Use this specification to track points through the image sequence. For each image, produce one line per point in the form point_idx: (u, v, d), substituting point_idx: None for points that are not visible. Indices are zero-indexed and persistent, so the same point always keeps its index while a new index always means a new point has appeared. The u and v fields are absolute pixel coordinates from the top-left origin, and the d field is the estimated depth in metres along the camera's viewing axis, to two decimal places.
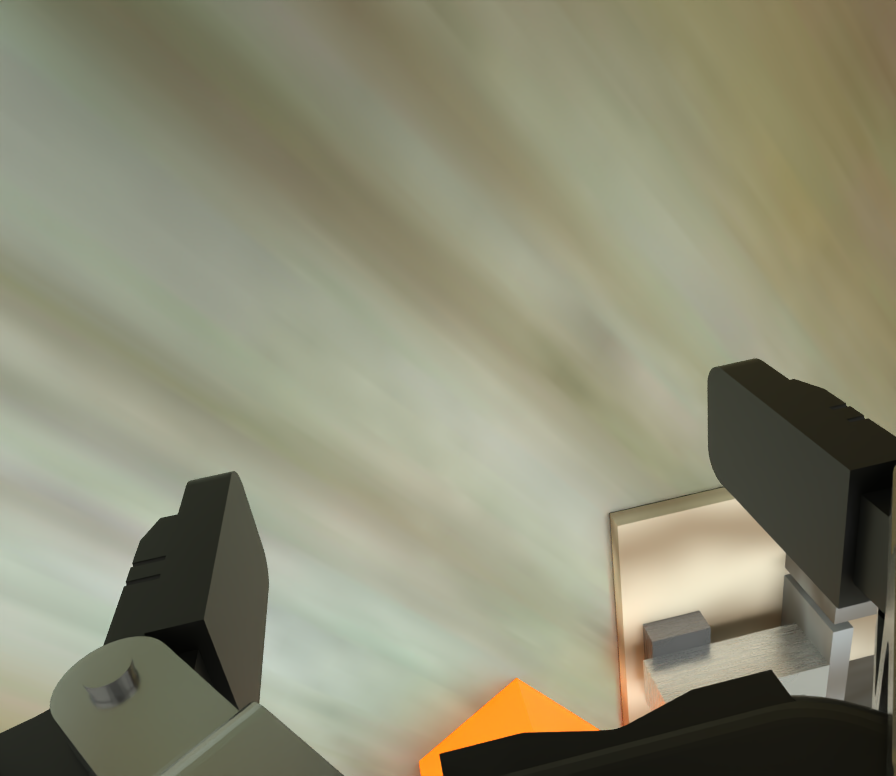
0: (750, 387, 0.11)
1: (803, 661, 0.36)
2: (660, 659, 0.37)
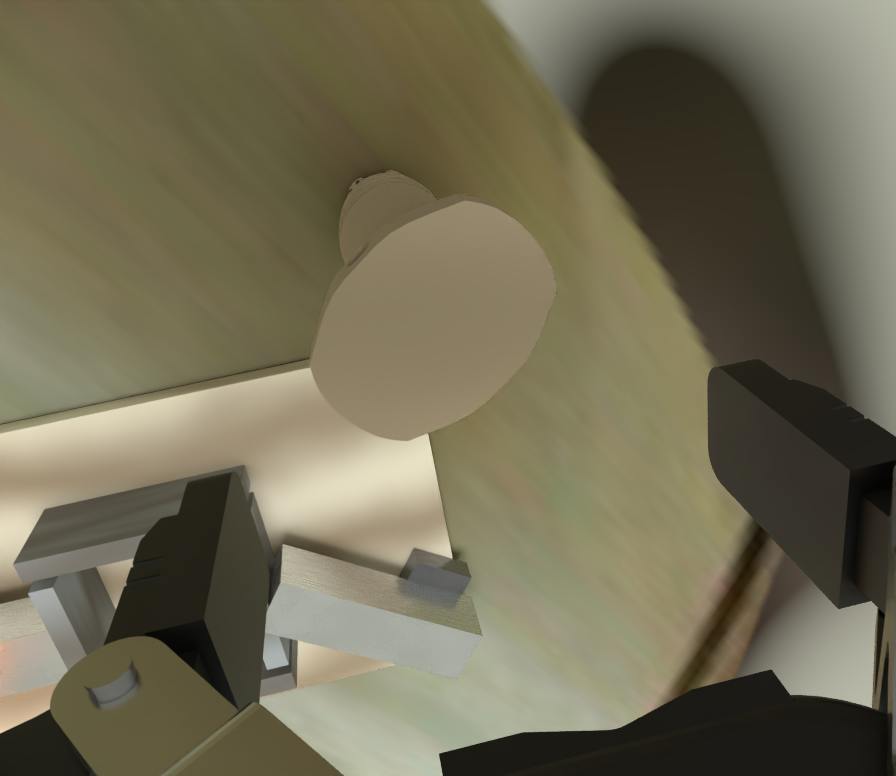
0: (750, 387, 0.11)
1: (28, 628, 0.32)
2: None
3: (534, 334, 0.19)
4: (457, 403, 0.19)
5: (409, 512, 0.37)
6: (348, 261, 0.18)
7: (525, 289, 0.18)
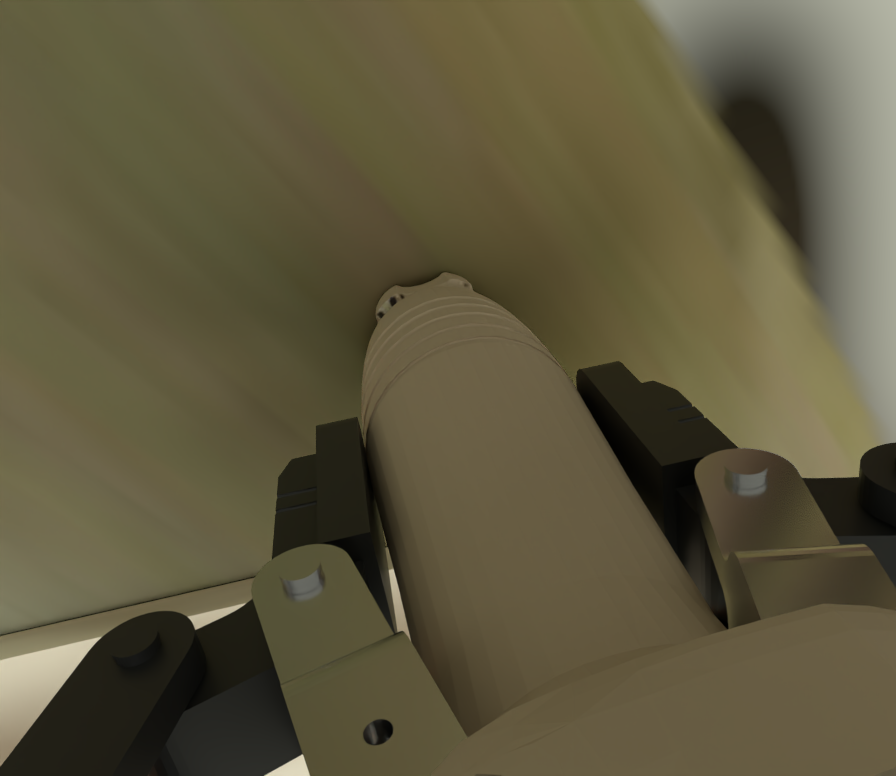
0: (602, 388, 0.12)
1: None
2: None
3: None
4: None
5: None
6: None
7: None
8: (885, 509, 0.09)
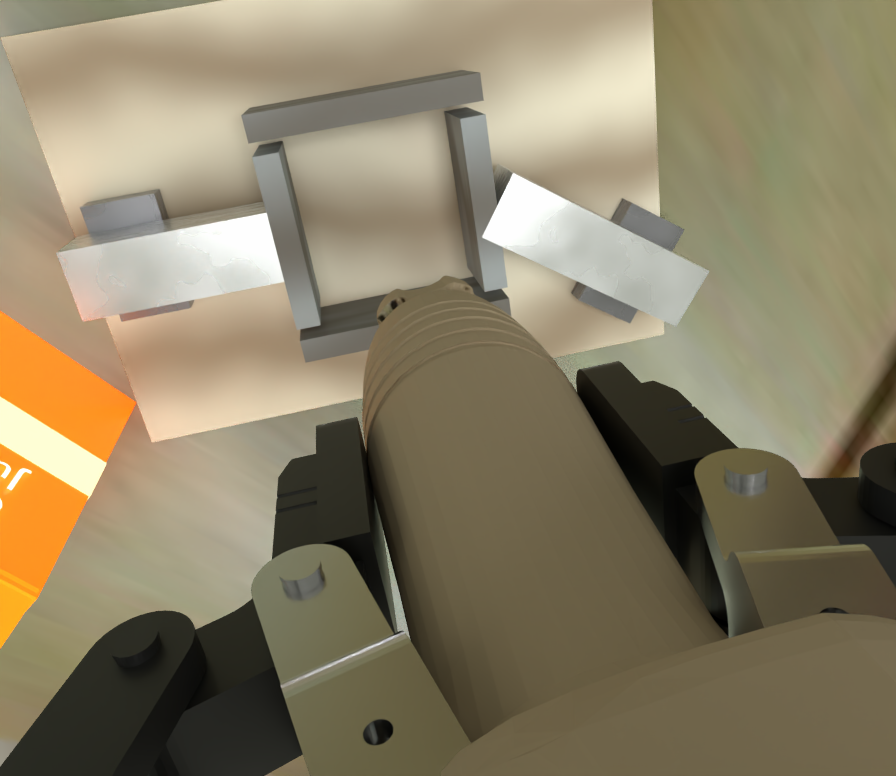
0: (602, 388, 0.12)
1: (242, 214, 0.30)
2: (95, 233, 0.31)
3: None
4: None
5: (622, 151, 0.34)
6: None
7: None
8: (885, 509, 0.09)
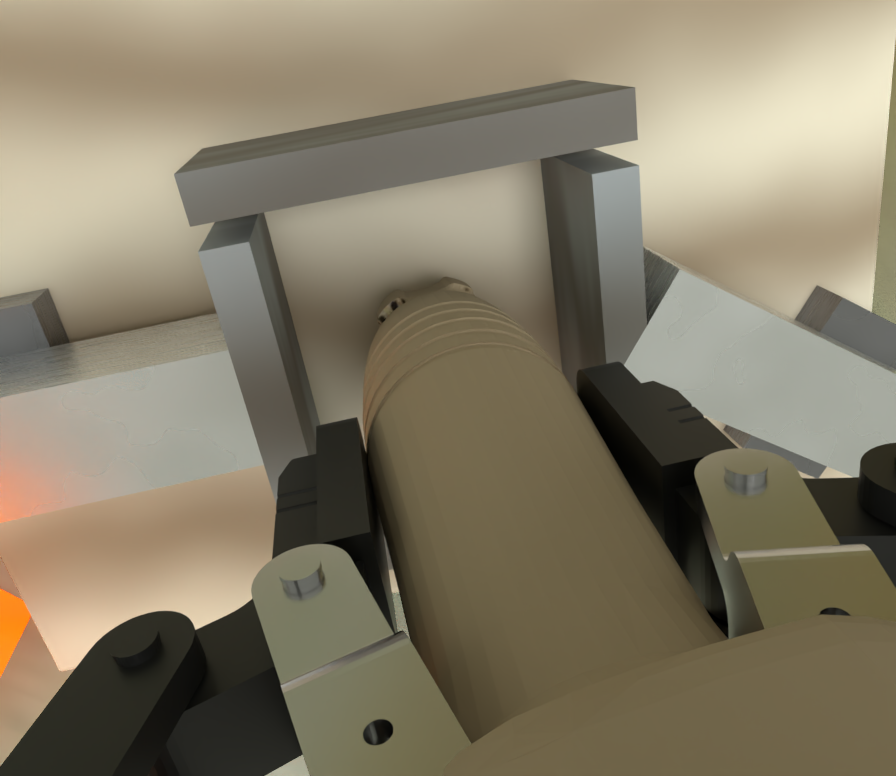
0: (602, 389, 0.12)
1: (185, 350, 0.16)
2: None
3: None
4: None
5: (825, 211, 0.21)
6: None
7: None
8: (885, 509, 0.09)
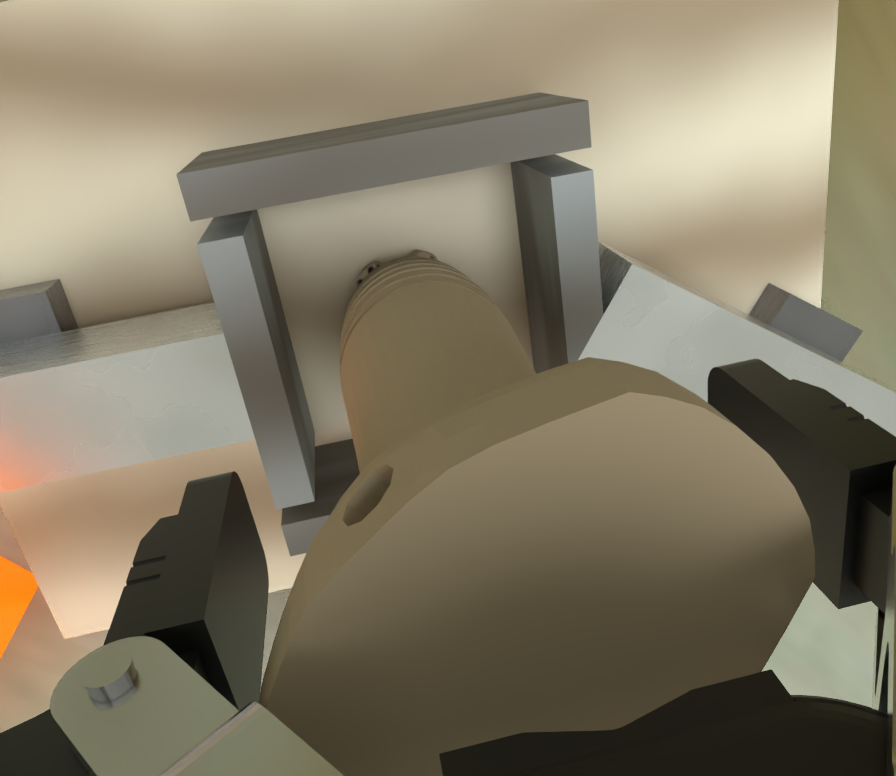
0: (750, 387, 0.11)
1: (185, 333, 0.18)
2: None
3: (755, 659, 0.09)
4: None
5: (775, 214, 0.23)
6: (346, 504, 0.08)
7: (747, 574, 0.08)
8: None
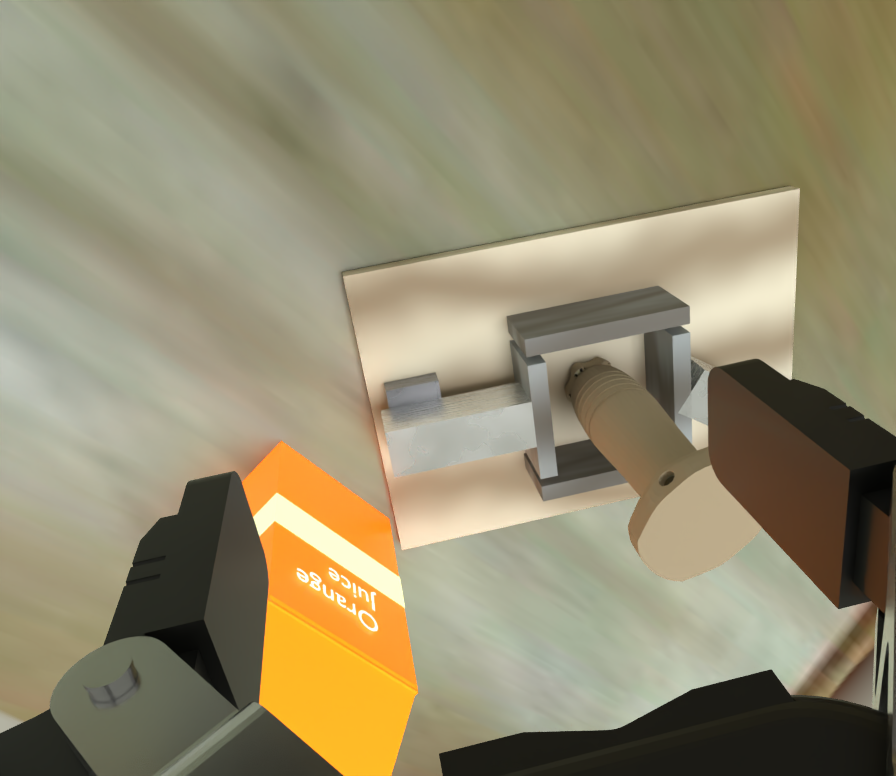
0: (750, 387, 0.11)
1: (511, 401, 0.41)
2: (394, 409, 0.42)
3: None
4: (713, 559, 0.33)
5: (768, 335, 0.46)
6: (658, 480, 0.32)
7: None
8: None
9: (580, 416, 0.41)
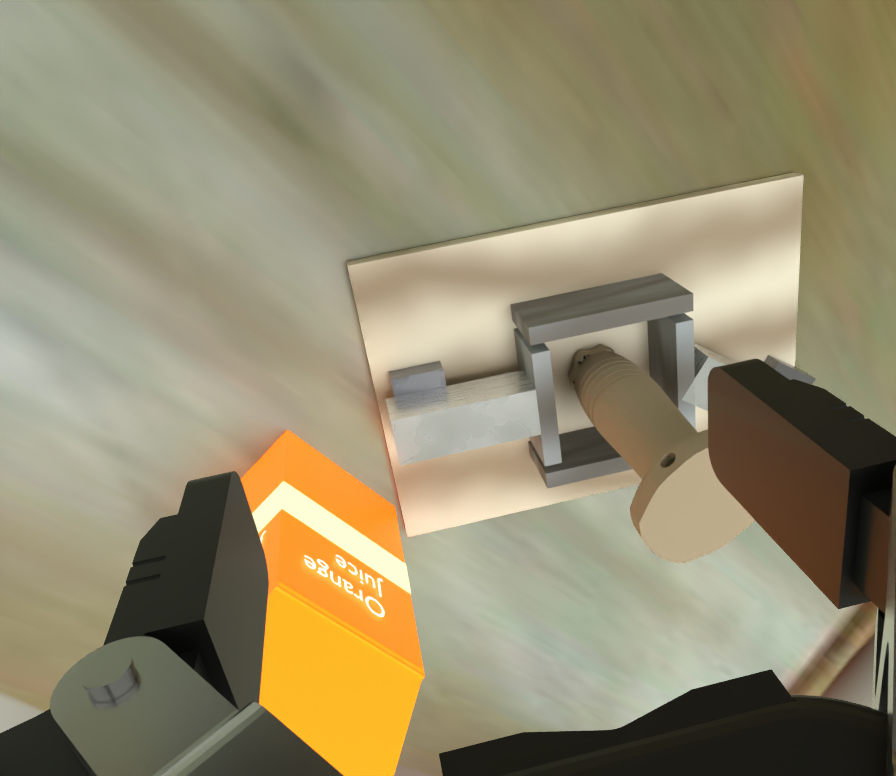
0: (750, 387, 0.11)
1: (516, 389, 0.41)
2: (399, 397, 0.43)
3: None
4: (715, 541, 0.33)
5: (771, 322, 0.46)
6: (659, 462, 0.32)
7: None
8: None
9: (583, 402, 0.41)
